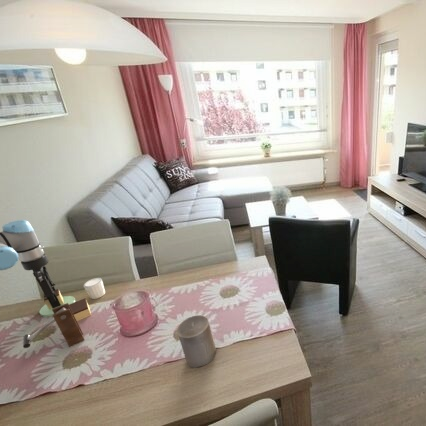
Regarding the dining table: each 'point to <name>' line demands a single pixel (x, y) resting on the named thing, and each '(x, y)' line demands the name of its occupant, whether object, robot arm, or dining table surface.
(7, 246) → the robot arm
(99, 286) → the white ribbed ramekin
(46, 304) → the cake slice
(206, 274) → the dining table surface
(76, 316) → the cake
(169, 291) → the dining table surface
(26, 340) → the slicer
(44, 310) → the plate
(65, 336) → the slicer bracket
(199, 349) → the pillar candle
